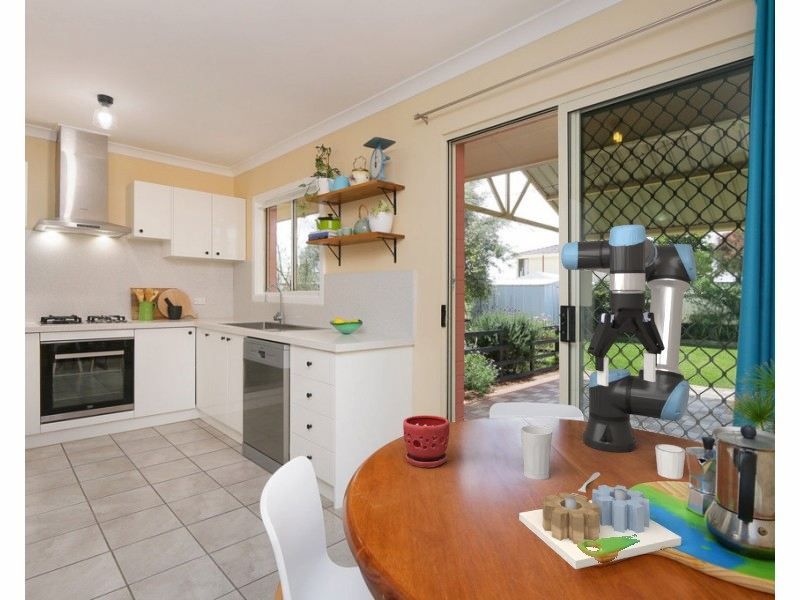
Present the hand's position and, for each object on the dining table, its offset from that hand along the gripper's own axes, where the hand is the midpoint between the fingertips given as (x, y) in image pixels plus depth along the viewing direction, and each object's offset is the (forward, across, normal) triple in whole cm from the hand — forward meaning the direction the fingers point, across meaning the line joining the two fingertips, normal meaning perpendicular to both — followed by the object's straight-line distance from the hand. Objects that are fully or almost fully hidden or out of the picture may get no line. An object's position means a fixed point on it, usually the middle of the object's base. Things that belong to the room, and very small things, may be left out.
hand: (626, 383), depth 108 cm
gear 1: (+25, +24, +11) cm, 36 cm away
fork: (+27, +4, -8) cm, 29 cm away
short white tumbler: (+27, -20, -6) cm, 34 cm away
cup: (+27, +13, -17) cm, 34 cm away
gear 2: (+25, +12, +11) cm, 30 cm away
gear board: (+27, +18, +11) cm, 34 cm away
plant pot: (+27, +37, -35) cm, 58 cm away
